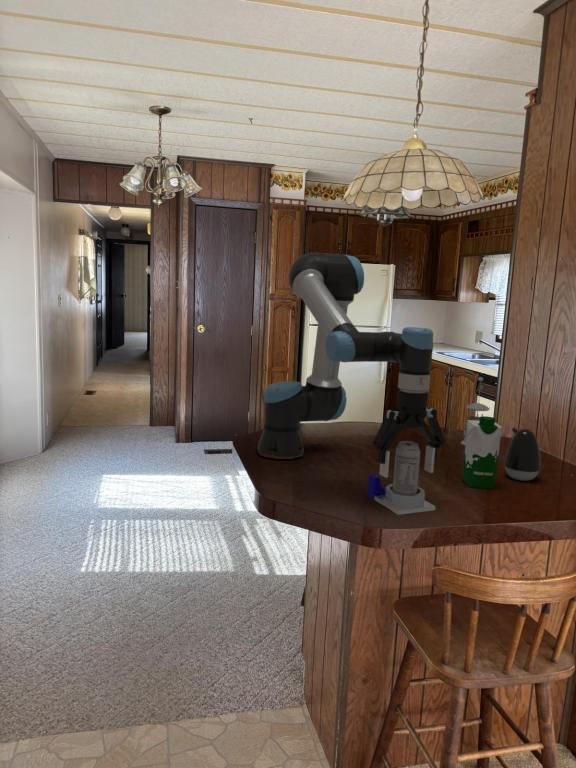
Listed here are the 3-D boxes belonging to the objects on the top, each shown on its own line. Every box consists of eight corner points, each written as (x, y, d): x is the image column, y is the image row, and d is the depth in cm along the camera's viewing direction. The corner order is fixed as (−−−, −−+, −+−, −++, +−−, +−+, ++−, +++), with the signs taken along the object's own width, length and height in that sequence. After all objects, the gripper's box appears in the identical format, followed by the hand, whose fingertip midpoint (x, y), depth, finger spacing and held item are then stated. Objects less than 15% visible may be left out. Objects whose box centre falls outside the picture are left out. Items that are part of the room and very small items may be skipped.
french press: (485, 441, 216) (492, 376, 213) (492, 449, 205) (499, 380, 201) (458, 439, 218) (464, 374, 214) (463, 447, 206) (470, 378, 202)
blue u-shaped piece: (402, 490, 158) (403, 469, 157) (411, 495, 154) (413, 474, 153) (364, 494, 153) (365, 472, 152) (373, 500, 149) (374, 478, 148)
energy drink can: (418, 499, 147) (423, 442, 145) (412, 506, 142) (417, 447, 140) (395, 495, 150) (400, 439, 148) (388, 501, 145) (393, 444, 142)
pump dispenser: (520, 471, 180) (526, 424, 178) (546, 482, 170) (552, 432, 168) (494, 474, 176) (499, 425, 174) (519, 484, 167) (525, 433, 164)
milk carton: (467, 488, 161) (474, 418, 158) (458, 478, 170) (465, 412, 167) (498, 490, 161) (506, 420, 158) (488, 479, 170) (495, 413, 167)
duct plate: (374, 499, 149) (375, 484, 148) (409, 495, 153) (410, 480, 153) (398, 514, 139) (399, 499, 138) (435, 510, 143) (436, 494, 143)
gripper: (378, 394, 133) (371, 482, 137) (463, 391, 143) (455, 474, 146) (361, 389, 140) (356, 473, 143) (444, 386, 150) (437, 465, 153)
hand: (406, 473), depth 145 cm, fingers open, 13 cm apart
